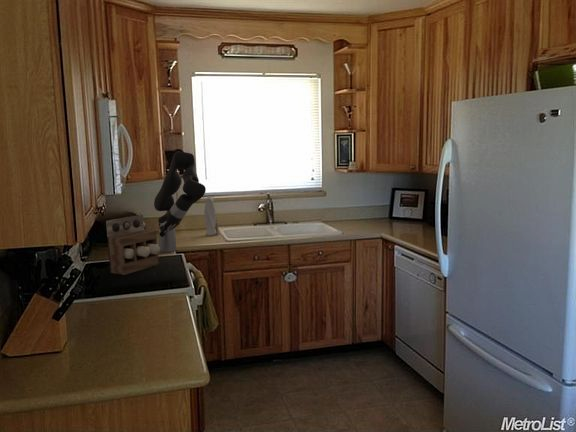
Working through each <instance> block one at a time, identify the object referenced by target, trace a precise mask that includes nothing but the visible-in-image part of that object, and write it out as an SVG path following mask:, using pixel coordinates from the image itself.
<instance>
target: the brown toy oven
mask: <svg viewBox="0 0 576 432" xmlns="http://www.w3.org/2000/svg"><path fill="white" fill-rule="evenodd" d="M105 223H106V224H105V225H106V236H107V250H108V261H109V273H110V274H116V275H122V276H125V275H129V274H132V273H135V272H138V271H141V270H145V269H146V270H147V269H149V268H152V266H153V267H155V266H158V265H159V263H160V262H159V253H158V254H149V256H147V257H143V256H136V246H144V247H146V243H148V244H157V245H158V235H157V230H154V229H153V230H152V229H151V230H150V229H145V223H144V214H138V215H132V216H126V217H120V218H115V219H109V220H106V221H105ZM124 248H129V249H133V250H134V256H133V258H131V259H127V258H124Z"/></svg>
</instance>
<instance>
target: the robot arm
mask: <svg viewBox="0 0 576 432" xmlns="http://www.w3.org/2000/svg"><path fill="white" fill-rule="evenodd" d="M196 167H197V166H196V158H195V155H194V154H193V153H191V152H186V151H179V150H177V151H175V152H174V153H173V155H172V158H171V162H170V164H169V168H168V170H167V173H166V175H165V177H164V179H163V182H162V185H161V187H160V189H159V191H158V192H157V194H156V196H155V197H154V201H153V207H154V209H155V210H156V211H157V212H166V213H165V214H164V215H162V216H160V217H158V232H159V234H158V235H157V241H158V245H159V247H160V251H159V252H161V253H173V252H176V251H177V241H176V240H177V238H176V227H178V226H179V225H180V223H181V222H182V220H183V219H184V218H185V216H186V215H187V214H188V212H189V210H190V208H191V207H192V206H193V204H195V203H197V202H198V201H199V200H200V199H202V198H203V196H204V195H205V194H206V189H207V188H206V186H205V185H204V184H202V183H201V182H200V181H199V177H198V175H197V168H196ZM178 170H180V171H181V170H182V171H183V173H182V177H181V175H180V173H179V171H178ZM182 180H183V182H182ZM182 183H183V186H182V192H183V194H182V193H181V194H180V196H179V197H178V198H177V199H176V201H175V198H174V196H173V195H175V194H176V193H177V192H178V191H179V189H180V188H181V185H182Z"/></svg>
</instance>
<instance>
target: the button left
mask: <svg viewBox="0 0 576 432" xmlns="http://www.w3.org/2000/svg"><path fill="white" fill-rule="evenodd" d="M133 256H134V250H133V249H129V248H124V258H127V259H131V258H133Z"/></svg>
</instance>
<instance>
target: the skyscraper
mask: <svg viewBox="0 0 576 432" xmlns="http://www.w3.org/2000/svg"><path fill="white" fill-rule="evenodd" d="M202 198H203V200H204V204H205V205H204V209H203V211H204V222H205V226H206V233H205V236H208V237H216V236H220V232H219V231H220V230H219V223H218V216H217V217H216V210H215V206H214V200H215V197H214V196H209V195H208V194H207V195H205V194H204V195H203V197H202Z"/></svg>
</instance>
